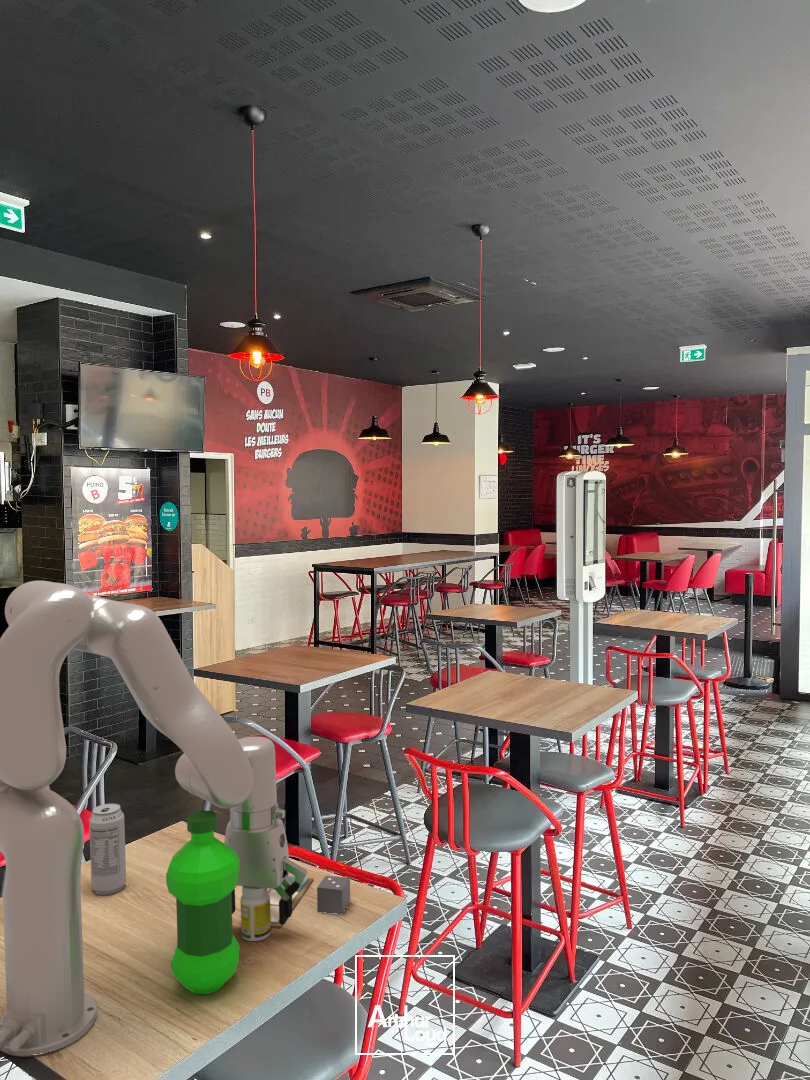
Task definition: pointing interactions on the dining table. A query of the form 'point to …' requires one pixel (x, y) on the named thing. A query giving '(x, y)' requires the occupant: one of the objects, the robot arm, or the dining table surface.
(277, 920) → the board
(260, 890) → the supplement bottle
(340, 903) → the die
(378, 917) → the dining table surface
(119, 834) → the energy drink can
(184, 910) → the plastic bottle
